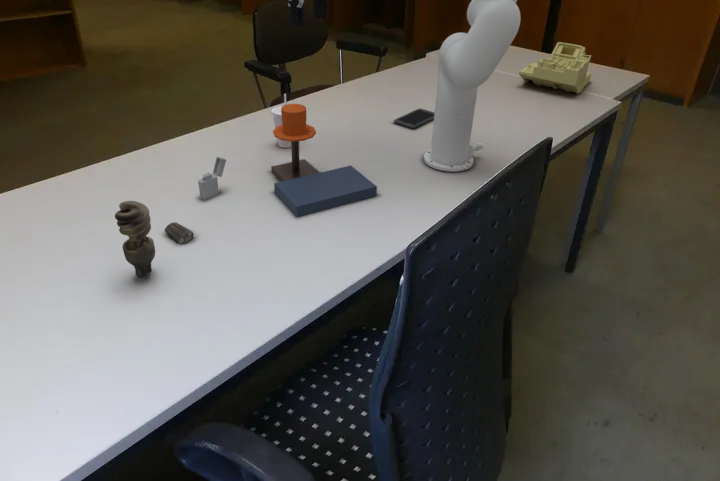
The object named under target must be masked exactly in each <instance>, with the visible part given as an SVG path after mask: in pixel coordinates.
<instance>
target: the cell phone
mask: <svg viewBox="0 0 720 481" xmlns="http://www.w3.org/2000/svg"><path fill="white" fill-rule="evenodd" d="M434 114H435V111H430V110H428V109H425V108H421V107H420V108H417V109H414V110H412V111H410V112H408V113H406V114H404V115H402V116H400V117H397V118H395V119H394V120H393V121H394V124H395V125H396V124H397V125H400V126H403V127H406V128H409V129H412V130H413V129H417V128H419V127H422V126H423V125H425V124H427V123H429V122H431V121H434Z"/></svg>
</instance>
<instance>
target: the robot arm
mask: <svg viewBox="0 0 720 481" xmlns="http://www.w3.org/2000/svg"><path fill="white" fill-rule="evenodd" d="M286 2H287V5H288V7H289V23H290V24H289V25H290V26H291V27H295V28H301V29H302V28H304V27H305V7H303V4H304V2H305V0H286ZM517 2H518V0H471V1H470V2H469V4H468V7H467V10H466V19H467V22H468V24H469V26H470V28H469V30H468V32H455V33H453V34H450V35H449V36H447V37H446V38H445V40H444V41H443V42H442V44H441V46H440V48H439V51H438V57H437V58H438V59H437V86H436V87H437V88H436V95H435V96H436V98H435V106H434V113H435V114H434V119H433V125H432V133H431V143H430V144H431V145H430V149H429V150H426V151H425V152H424V155H423V161H424V163H425V164H426V165H427V166H429V167H431V168H433V169H435V170H439V171H442V172H451V173H453V172H454V173H455V172H463V171H467V170H468V169H470V168H471V167H473V165H474V156H473V155H472V154H473V153H475V152H477V151H482V150H483V149H484V145H483V143H482V142H476V143H473V141H472V140H471V137H472V131H473V122H474V118H475V110H476V109H475V108H476V103H477V97H478V87H480V86H482V85H483V84H485V82H487V81H488V80H489V78H490V77H491V75H492V74H493V73H494V71H495V70H496V69H497V67H498V65H499V64H500V62H501V60H502V59H503V57H504V55H506V53H507V51H508V49H509V48H510V46H512V43H513V41H514V40H515V38H516V36H517V34H518V32H519V30H520V26H521V19H522V18H521V11H520V8H519V6H518V5H517ZM313 16H314V18H315V19H316V18H317V19H322V20H326V19H328V0H313Z"/></svg>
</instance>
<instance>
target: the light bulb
mask: <svg viewBox="0 0 720 481" xmlns="http://www.w3.org/2000/svg"><path fill="white" fill-rule="evenodd" d="M118 207H119V210H118V211H116V212H115V214H114V219H115V220H117V221H116V225H117V227H118V228H119V229H118V231H119V233H120V234H121V235H122V236H123V235H124V236H127V237H128V239H126V240H125V241H124V242H123V243H122V251H123V256H124V259H125V260H126V262H127V263H129V264H130V265H132V266H133V268H134V270H135V271H134V273H135V275H136V276H137V278H141V279H142V278H146V277H147V276H148V275H149V274H151V273H152V271H153V268H152V262H153V261H154V259H155V257H156V247H155V241H154V239H153V238H152V237H150V236H148V235H149V234H150V232H151V230H152V224H151V215H150V209H149V208H148V206H147V205H146V204H144V203H142V202H140V201H135V200H125V201H122V202H120V203H119V205H118Z"/></svg>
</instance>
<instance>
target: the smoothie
mask: <svg viewBox="0 0 720 481" xmlns="http://www.w3.org/2000/svg"><path fill="white" fill-rule="evenodd" d="M283 100H284V101H283V102H284V105H287V104H288V103H287V93H283ZM284 105H279V106H275V107H273V108H272V109H271V116H272V118H273V123H274V129H275V128H276V127H277V126H280V125H282V114H281V108H282V106H284ZM276 139H277V145H278V147H279V148H283V149H289V148H291V141H284V140H280V139H278V138H276Z"/></svg>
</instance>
